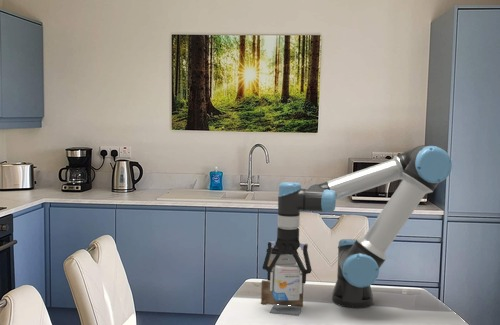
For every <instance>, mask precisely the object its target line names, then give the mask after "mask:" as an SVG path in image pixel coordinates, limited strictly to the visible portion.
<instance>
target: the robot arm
mask: <svg viewBox="0 0 500 325" xmlns="http://www.w3.org/2000/svg"><path fill="white" fill-rule="evenodd" d="M452 162H453V161H452V159H451V156H450V155H449V153H448V152H447V151H445V150H444V149H443V148H441V147H439V146H436V145H426V144H425V145H424V144H423V145H418V146H415V147H413V148H411V149H408V150H406V151H404V152H401V153H399V154H396V155H394V156H393V158H392V159H390V160H389V159H388V160H387V161H383V162H381V163H378V164H375V165H371V166H368V167H366V168H363V169H360V170H356V171H354V172H351V173H348V174H344V175H342V176H339V177H336V178H334V179H330V180H326V181H324V182H321V183H319V184H318V183H315V184H312V185H310V186H309V187H308V188H302V187H301V186H302V185H301V183H299V182H291V181H285V182H284V181H283V182H280V184H279V185H278V196H277V197H278V199H277V223H276V224H277V226H278V227H277V231H276V232H277V234H276V241H272V240H269V242H268V243H267V249H268V250H267V249H266V251H267V252H266V255H265V258H264V261H263V264H262V270H265V271H266V272H267V278H266V279H267V281H270V291H272V290H273V275H274V270H272V268H273V267H274V265H275V263H276V262H277V260H278V258H279V257H280V255H281V253H282V254H288V255H293V257H294V258H295V260H296V264H297V265H298V266H299V268H300V286H299V294H302V291H303V292H304V286H303V284H304V285H305V284H306V282H307V275H308V274H311V272H312V265H311V259H310V256H309V252H308V248H309V245H308V243H300V238H299V237H300V229H299V227H300V218H301V217H300V214H301V212H305V211H306V212H322V213H327V212H328V213H330V212H334V211H335V210H336V201H338V200H340V199H344V198H347V197H349V196H352V195H356V194H358V193H362V192H365V191H368V190H371V189H374V188H377V187H379V186H383V185H386V184H389V183H393V182H394V181H398V180H401V182H400V184H399V185H398V186H397V188H396V189H395V191H394V193H392V195H391V197H390V198H389V200H388V201H387V202H386V204H385V206H383V209H382V210H381V211H380V213H378V215H377V217H376V219H375V220H374V222H373V223H372V224H371V226H370V228H369V229H368V230H367V232H366V234H364V236H363V237H360V238H359V237H358V238H356V239H355V238H346V239H345V238H343V239H340V240H339V241H338V246H337V250H338V252H337V277H336V282H335V285H334V288H333V290H332V292H331V301H332V302H333V303H334V304H335V305H338V306H341V307H346V308H354V309H355V308H356V309H357V308H358V309H359V308H360V309H361V308H368V307H371V306H373V305H374V298H375V296H374V294H373V290H372V286H371V285H373V284H375V282H376V281H377V279H378V278H379V273H380V269H381V267H382V266H383V264H384V263H385V261H386V259H387V257H386V252H387V250H388V249H389V247H390V246H391V244H392V243H393V242H394V240H395V238H396V237H397V236H398V234H399V233H400V231H401V230H402V228H403V227H404V225H405V224H406V223H407V221H408V219H409V218H410V216H411V215H412V214H413V213H414V211H415V210H416V208H417V207H418V206H419V204H420V202H421V201H422V199H423V198H424V197H425V195H426V194H431V193H433V192H434V191H435V190H436V188H437V186H438V185H439V183H442V182H444V181H445V180H446V179H447V178H448V177H449V176H450V175H451V172H452V169H453V163H452ZM275 245H276V246H277V248H278V249H279V251H278V253H277V254H276V256H275V258H274V259H273V261H272V263H271V265H270V266H268V262H269V259H270V255H271V252H272V248H274V246H275ZM299 248H300V250H301V251H302V255H303V259H304V263H303V261H302V259H301V258H300V255H299V252H298V250H299ZM304 264H305V266H304Z"/></svg>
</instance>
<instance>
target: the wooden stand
mask: <svg viewBox="0 0 500 325" xmlns="http://www.w3.org/2000/svg"><path fill="white" fill-rule="evenodd" d="M304 286H305V284H303V287H304ZM260 304H261V305H274V304H279V305H291V306H298V307H302V308H303V306H304V290H303V291H302V294H299V300H288V301H276V300H275V299H274V297H273V290H272V291H270V281H268V280H264V279H263V280H261V295H260Z"/></svg>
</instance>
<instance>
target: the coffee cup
mask: <svg viewBox="0 0 500 325" xmlns="http://www.w3.org/2000/svg"><path fill="white" fill-rule="evenodd" d="M267 250H268V248H266V250H265V251H266V253H267ZM278 251H279V249H278V248H277V246H276V245H275V246H274V248H272V252H271V255H270V259H269V262H268V265H267V266H270V265H271V263H272V261H273V259H274V258H275V256H276V254H277V253H278ZM281 255H289V254H282V253H281ZM282 260H289V259H287V258H284V259H282ZM272 270H274V267H273V268H272Z"/></svg>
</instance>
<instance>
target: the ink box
mask: <svg viewBox="0 0 500 325" xmlns="http://www.w3.org/2000/svg"><path fill="white" fill-rule="evenodd" d="M284 258H287V259H288V260H282V259H284ZM300 274H301V270H300V268H299V266H298V264H297V262H296V260H295V258H294V257H293V255H289V254H288V255H280V257H279V258H278V260H277V262H276V263H275V265H274V275H273V297H274V299H275V300H276V301H288V300H299V286H300Z"/></svg>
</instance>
